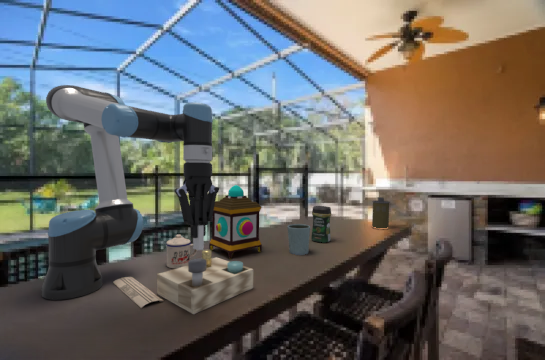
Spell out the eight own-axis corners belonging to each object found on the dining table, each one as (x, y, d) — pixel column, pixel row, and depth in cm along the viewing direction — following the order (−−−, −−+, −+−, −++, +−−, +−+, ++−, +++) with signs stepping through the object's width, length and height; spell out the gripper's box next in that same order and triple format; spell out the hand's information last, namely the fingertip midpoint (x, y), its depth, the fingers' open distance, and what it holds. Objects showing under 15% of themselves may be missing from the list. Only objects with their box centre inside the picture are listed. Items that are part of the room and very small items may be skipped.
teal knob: (234, 288, 87) (234, 267, 87) (224, 284, 90) (224, 263, 90) (245, 283, 91) (246, 263, 90) (235, 279, 94) (235, 260, 93)
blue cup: (313, 254, 128) (314, 227, 127) (293, 256, 124) (293, 228, 124) (303, 248, 137) (303, 223, 137) (283, 250, 134) (283, 224, 133)
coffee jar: (309, 241, 152) (309, 205, 151) (316, 238, 158) (317, 204, 157) (325, 244, 146) (326, 207, 145) (332, 241, 152) (333, 206, 151)
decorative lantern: (204, 250, 132) (205, 184, 131) (240, 243, 145) (241, 183, 144) (229, 261, 117) (229, 187, 116) (266, 252, 130) (267, 185, 129)
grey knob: (195, 289, 76) (195, 265, 76) (184, 284, 79) (184, 261, 79) (209, 284, 80) (210, 261, 79) (199, 279, 83) (199, 257, 83)
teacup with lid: (170, 270, 105) (170, 238, 105) (162, 263, 112) (162, 234, 112) (201, 264, 112) (201, 234, 112) (192, 258, 120) (192, 230, 119)
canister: (371, 229, 185) (372, 197, 185) (371, 226, 195) (372, 196, 194) (390, 230, 182) (391, 198, 181) (389, 227, 192) (389, 197, 191)
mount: (193, 314, 74) (193, 291, 74) (157, 294, 86) (157, 274, 85) (253, 288, 91) (253, 269, 91) (216, 274, 102) (216, 257, 102)
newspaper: (163, 304, 81) (163, 298, 81) (137, 312, 76) (137, 306, 76) (132, 280, 97) (132, 275, 97) (109, 286, 92) (109, 280, 92)
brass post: (205, 268, 91) (205, 252, 91) (199, 266, 93) (200, 250, 92) (213, 266, 93) (213, 250, 93) (207, 263, 95) (207, 248, 95)
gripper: (184, 161, 71) (185, 257, 71) (225, 162, 81) (225, 246, 81) (168, 161, 76) (169, 251, 76) (208, 162, 86) (209, 242, 86)
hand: (198, 248), depth 79 cm, fingers closed
